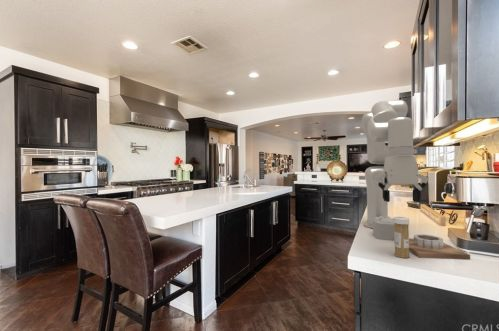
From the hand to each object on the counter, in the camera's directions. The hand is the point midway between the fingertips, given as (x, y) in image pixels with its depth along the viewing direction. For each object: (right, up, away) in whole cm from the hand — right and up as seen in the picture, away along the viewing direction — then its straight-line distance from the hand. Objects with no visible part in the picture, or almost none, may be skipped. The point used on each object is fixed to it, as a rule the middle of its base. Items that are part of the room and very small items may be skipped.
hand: (401, 201), depth 84 cm
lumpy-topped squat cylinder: (+8, -20, +24) cm, 32 cm away
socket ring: (+14, -18, +6) cm, 24 cm away
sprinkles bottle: (0, -19, 0) cm, 19 cm away
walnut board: (+14, -19, +6) cm, 25 cm away
